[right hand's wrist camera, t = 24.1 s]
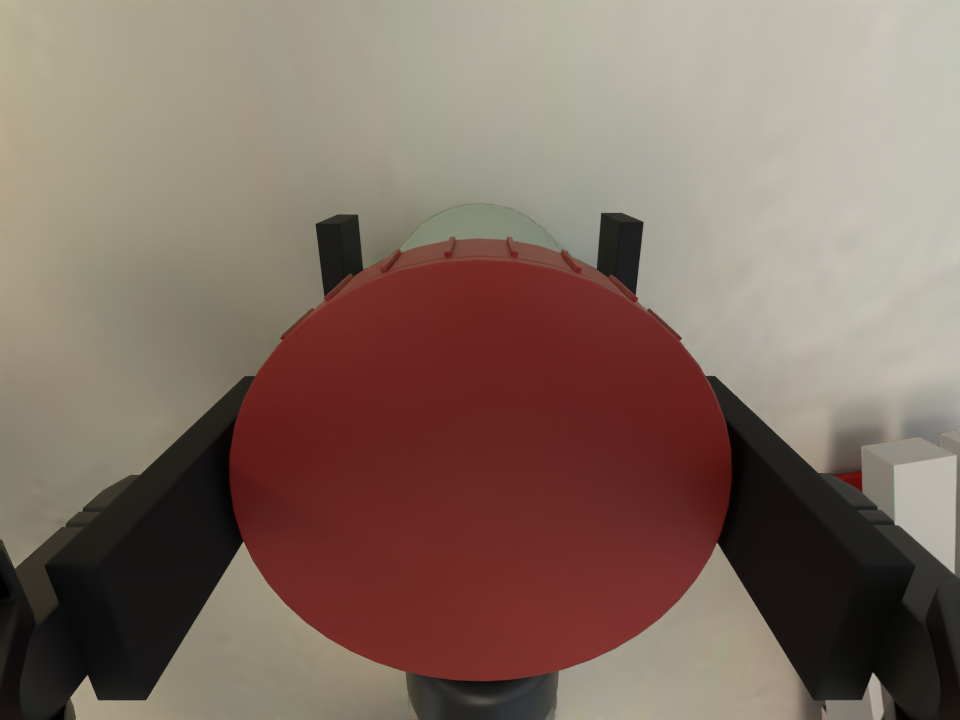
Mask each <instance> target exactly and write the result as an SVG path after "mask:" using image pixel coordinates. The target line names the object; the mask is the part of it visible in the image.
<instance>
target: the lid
mask: <svg viewBox="0 0 960 720" xmlns="http://www.w3.org/2000/svg"><path fill="white" fill-rule="evenodd" d="M324 299H325V301H324V302H322V303H321V304H320V305H319V306H318V307H317V308H316V309H315V310H314V309H313V308H311V309H310V310H309V311H308V312H307V313H306V314H305V315H304V316H303V317H301V318H300V319H299V320H298V321H297V322H296V323H295V324H294V325H293V326H292V327H291V328H289V329H288V330H287V331H286V332H285V333H284V334H283V335H282V336H281V337H280V339H282V340H283V341H282V342H281V343H280V344H279V345H278V346H277V347H276V348H275V350H274V351H273V352H272V354H271V355H270V356H269V358H268V359H267V360H266V362H265V363H264V364H263V366H262V367H261V368H260V370H259V371H258V373H257V375H256V377H255V379H254V380H253V381H252V383H251V386H250V388H249V390H248V392H247V394H246V395H245V397H244V400H243V403H242V406H241V408H240V411H239V414H238V417H237V420H236V423H235V426H234V432H233V437H232V443H231V449H230V459H229V485H230V491H231V498H232V505H233V511H234V514H235V517H236V521H237V524H238V527H239V530H240V533H241V537H242V539H243V541H244V543H245V545H246V547H247V549H248V551H249V553H250V556H251V558H252V560H253V562H254V563H255V565H256V566H257V568H258V569H259V571H260V572H261V574H262V575H263V577H264V578H265V580H266V581H267V583H268V584H269V585H270V586H271V588H272V589H273V590H274V591H275V592H276V593H277V595H278V596H279V597H280V598H281V599H282V600H283V601H284V603H285V604H286V605H287V606H288V607H290V608H291V609H292V610H293V611H294V612H295V613H296V614H297V615H298V616H299V617H301V618H302V619H303V620H304V621H305V622H306V623H308V624H309V625H310V626H312V627H313V628H315V629H316V630H317V631H319V632H320V633H321V634H323V635H324V636H326V637H327V638H329V639H330V640H332V641H334V642H336V643H337V644H339V645H341V646H343V647H345V648H346V649H348V650H350V651H352V652H354V653H356V654H359V655H361V656H363V657H365V658H368V659H370V660H372V661H374V662H377V663H380V664H383V665H386V666H389V667H392V668H395V669H398V670H402V671H406V672H410V673H415V674H419V675H424V676H428V677H436V678H443V679H451V680H466V681H494V680H511V679H518V678H525V677H532V676H538V675H542V674H546V673H550V672H555V671H559V670H563V669H566V668H569V667H572V666H575V665H578V664H580V663H583V662H586V661H589V660H592V659H594V658H596V657H598V656H600V655H602V654H604V653H607V652H609V651H611V650H613V649H615V648H617V647H619V646H620V645H622V644H624V643H625V642H627V641H629V640H630V639H632V638H634V637H635V636H637V635H639V634H640V633H641V632H643V631H644V630H645V629H646V628H648V627H649V626H650V625H652V624H653V623H654V622H656V621H657V620H658V619H660V618H661V617H662V616H663V615H664V614H665V613H666V612H667V611H668V610H669V609H670V608H671V607H672V606H673V605H674V604H675V603H677V602H678V601H679V600H680V598H681V597H682V596H683V595H684V594H685V592H686V591H687V590H688V589H689V587H690V586H691V585H692V584H693V583H694V581H695V580H696V579H697V577H698V576H699V574H700V572H701V571H702V569H703V568H704V566H705V564H706V563H707V561H708V560H709V558H710V556H711V554H712V552H713V550H714V547H715V545H716V543H717V541H718V539H719V536H720V534H721V532H722V528H723V525H724V521H725V518H726V514H727V510H728V507H729V500H730V492H731V484H732V460H731V446H730V441H729V436H728V431H727V426H726V421H725V418H724V416H723V413H722V411H721V408H720V405H719V403H718V400H717V397H716V395H715V392H714V390H713V389H712V387H711V385H710V383H709V381H708V380H707V378H706V376H705V375H704V373H703V371H702V369H701V368H700V366H699V365H698V363H697V362H696V361H695V360H694V358H693V357H692V356H691V355H690V353H689V352H688V351H687V350H686V348H685V347H684V346H683V345H682V343H681V342H680V340H681V339H682V338H681V337H680V336H679V335H678V334H677V333H676V332H675V331H674V330H673V329H672V328H671V327H669V326H668V325H667V324H666V323H665V322H664V321H663V320H662V319H661V318H660V317H658V316H657V315H656V314H655V313H654V312H653V311H652V310H651V309H648V310H646V309H645V308H644V307H643V306H642V305H641V304H640V303H638V302H637V300H638V298H637V297H636V296H635V295H634V294H633V293H632V292H631V291H630V290H629V289H628V288H626V287H625V286H624V285H623V284H622V283H621V282H620V281H619V280H618V279H616V278H615V277H614V276H613V275H611V274H610V276H609V277H607V276H605V275H604V274H602V273H601V272H600V271H598V270H597V269H595V268H593V267H591V266H589V265H587V264H585V263H583V262H581V261H579V260H577V259H575V258H573V257H572V256H571V255H570V254H569V253H568V252H567V251H566V250H563V249H562V251H561V253H560V252H557V251H554V250H551V249H548V248H545V247H542V246H538V245H533V244H528V243H522V242H517V241H513V238H512V237H507V240H500V239H482V238H475V239H462V240H455V236H454V237H450V238H449V241H443V242H438V243H434V244H429V245H424V246H420V247H415V248H413V249H410V250H407V251H404V252H402V253H401V251H400V249H398V250H396V251H395V252H394V253H393V254H392V255H391V256H390V257H388V258H386V259H384V260H382V261H380V262H378V263H376V264H374V265H372V266H371V267H369V268H367V269H365V270H363V271H361V272H360V273H358V274H357V275H355V276H354V277H353V276H352V274H350V275H348V276H347V277H346V278H345V279H344V280H343V281H341V282H340V283H339V284H338V285H337V286H336V287H335V288H334V289H333V290H332V291H331V292H329V293H328V294H327V295H326V296H325V297H324Z"/></svg>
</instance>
